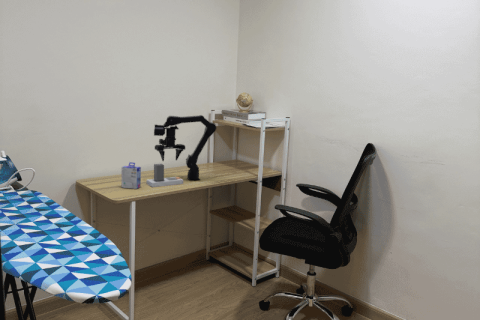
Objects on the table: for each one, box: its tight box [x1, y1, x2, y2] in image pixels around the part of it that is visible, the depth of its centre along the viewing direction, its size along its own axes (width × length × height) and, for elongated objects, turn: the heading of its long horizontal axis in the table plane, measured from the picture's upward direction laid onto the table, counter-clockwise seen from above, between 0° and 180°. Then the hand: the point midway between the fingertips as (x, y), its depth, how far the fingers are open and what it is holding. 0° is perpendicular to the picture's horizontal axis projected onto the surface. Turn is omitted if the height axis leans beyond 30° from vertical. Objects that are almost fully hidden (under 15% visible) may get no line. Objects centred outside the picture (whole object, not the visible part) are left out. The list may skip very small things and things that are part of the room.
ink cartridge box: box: [121, 161, 142, 190], centre depth 239 cm, size 10×6×14 cm, turn 78°
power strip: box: [146, 176, 184, 188], centre depth 252 cm, size 20×9×3 cm, turn 124°
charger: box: [153, 163, 165, 182], centre depth 248 cm, size 4×4×12 cm
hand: (169, 160), depth 260 cm, fingers open, 9 cm apart
